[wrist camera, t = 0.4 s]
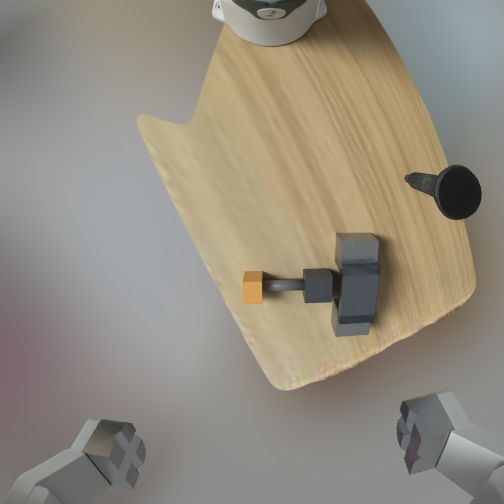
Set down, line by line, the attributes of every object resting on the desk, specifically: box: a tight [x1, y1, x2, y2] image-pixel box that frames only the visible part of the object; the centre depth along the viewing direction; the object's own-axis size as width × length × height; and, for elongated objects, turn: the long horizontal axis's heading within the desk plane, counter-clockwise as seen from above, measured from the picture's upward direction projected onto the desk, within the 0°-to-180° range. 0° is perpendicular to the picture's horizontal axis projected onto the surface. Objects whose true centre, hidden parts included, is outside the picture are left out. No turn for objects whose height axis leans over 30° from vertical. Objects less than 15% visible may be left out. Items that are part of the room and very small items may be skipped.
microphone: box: [405, 165, 482, 220], centre depth 39 cm, size 7×7×20 cm
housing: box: [331, 233, 380, 337], centre depth 51 cm, size 17×6×7 cm, turn 2°
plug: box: [243, 268, 333, 304], centre depth 53 cm, size 4×14×4 cm, turn 92°
